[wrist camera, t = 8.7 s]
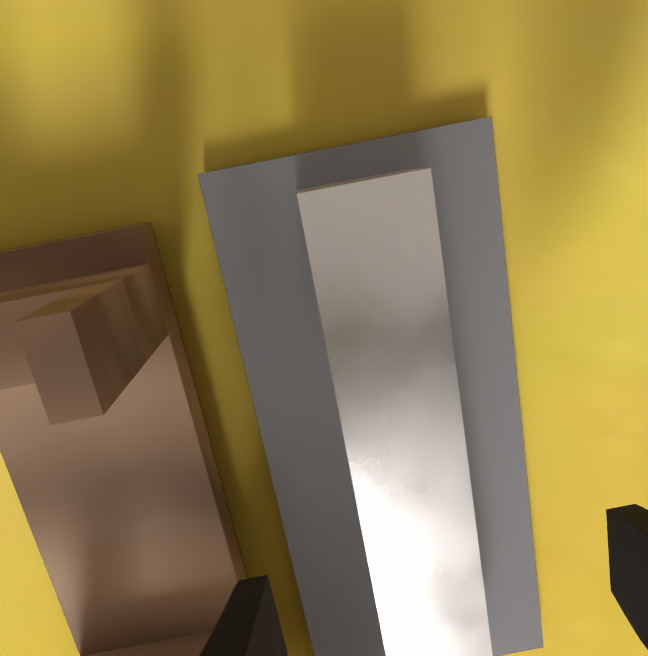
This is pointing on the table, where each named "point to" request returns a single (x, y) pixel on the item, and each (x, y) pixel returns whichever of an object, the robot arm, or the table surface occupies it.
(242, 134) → the table surface
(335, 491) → the mat
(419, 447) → the rail
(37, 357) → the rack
